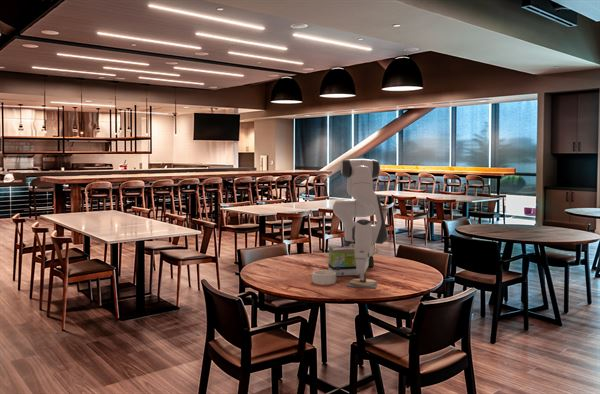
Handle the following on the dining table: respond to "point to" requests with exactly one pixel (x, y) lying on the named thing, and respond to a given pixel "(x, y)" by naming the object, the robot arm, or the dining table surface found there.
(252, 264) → the dining table surface
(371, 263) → the character mug
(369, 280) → the lid
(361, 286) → the mat
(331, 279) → the bowl
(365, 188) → the robot arm
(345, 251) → the tea box
